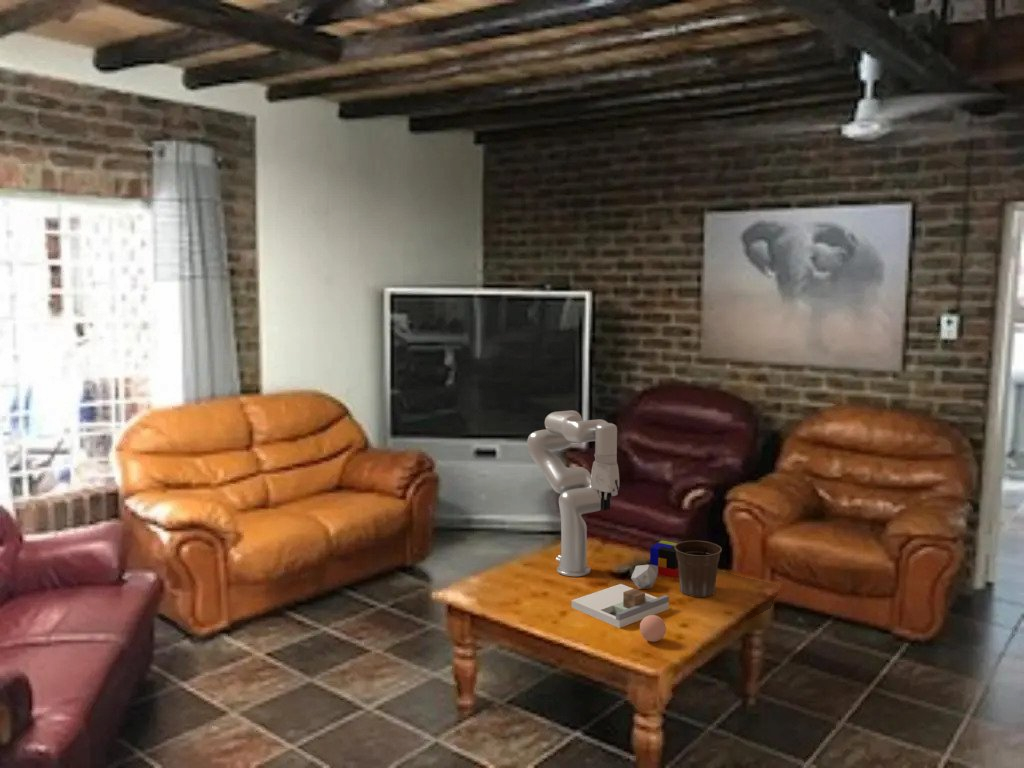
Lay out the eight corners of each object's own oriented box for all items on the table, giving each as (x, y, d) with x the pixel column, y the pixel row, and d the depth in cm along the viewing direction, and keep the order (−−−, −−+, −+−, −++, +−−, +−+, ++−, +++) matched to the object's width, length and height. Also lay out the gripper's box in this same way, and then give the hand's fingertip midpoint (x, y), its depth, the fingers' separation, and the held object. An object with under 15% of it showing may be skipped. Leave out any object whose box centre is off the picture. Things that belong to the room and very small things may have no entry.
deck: (571, 607, 288) (571, 594, 287) (620, 590, 303) (620, 578, 302) (619, 628, 271) (619, 614, 270) (668, 609, 286) (668, 596, 285)
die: (626, 588, 307) (633, 573, 300) (633, 570, 313) (640, 555, 306) (647, 598, 305) (654, 583, 299) (654, 580, 311) (661, 565, 305)
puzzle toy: (649, 572, 321) (650, 547, 320) (661, 565, 329) (661, 540, 328) (674, 578, 315) (675, 552, 314) (685, 570, 323) (686, 544, 322)
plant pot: (691, 603, 291) (692, 557, 289) (664, 587, 306) (665, 543, 304) (730, 595, 298) (731, 551, 296) (701, 580, 312) (702, 538, 310)
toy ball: (661, 634, 266) (661, 610, 265) (669, 645, 258) (669, 620, 257) (636, 636, 265) (636, 611, 264) (643, 647, 257) (644, 621, 256)
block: (623, 606, 282) (623, 592, 281) (633, 602, 285) (633, 588, 284) (634, 611, 278) (634, 596, 277) (644, 607, 281) (645, 592, 280)
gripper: (583, 456, 302) (582, 507, 304) (614, 463, 291) (613, 516, 293) (598, 453, 307) (597, 503, 309) (629, 460, 295) (628, 512, 298)
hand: (605, 509), depth 301 cm, fingers closed
